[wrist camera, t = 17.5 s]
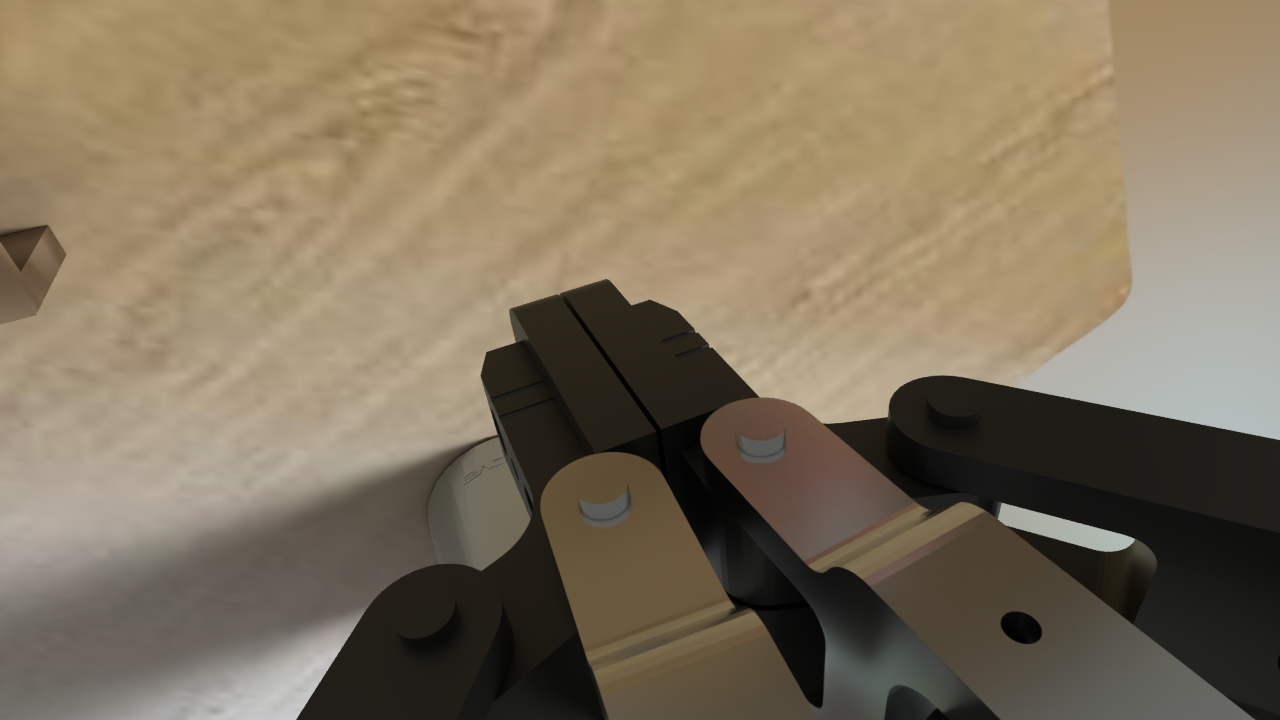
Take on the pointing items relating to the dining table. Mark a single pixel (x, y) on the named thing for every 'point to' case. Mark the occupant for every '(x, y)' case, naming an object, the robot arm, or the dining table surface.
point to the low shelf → (27, 271)
